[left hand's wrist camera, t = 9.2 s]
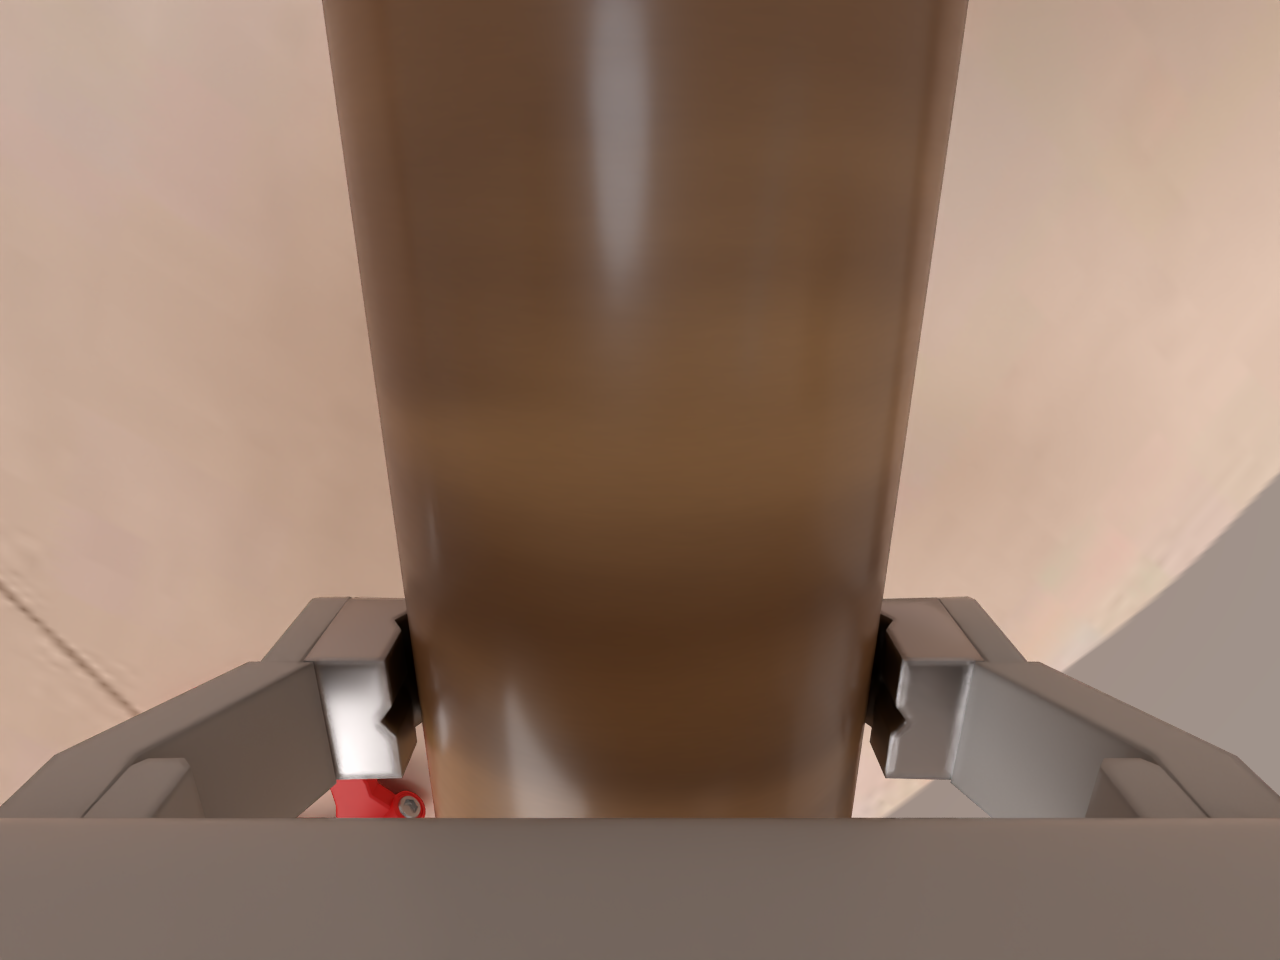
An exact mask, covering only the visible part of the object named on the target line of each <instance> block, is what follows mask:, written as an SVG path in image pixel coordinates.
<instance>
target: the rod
mask: <svg viewBox="0 0 1280 960" xmlns="http://www.w3.org/2000/svg"><path fill="white" fill-rule="evenodd" d="M968 1H969V0H322V4H323V11H324V18H325V26H326V33H327V40H328V47H329V54H330V62H331V69H332V76H333V83H334V90H335V98H336V105H337V112H338V119H339V126H340V134H341V141H342V148H343V155H344V162H345V170H346V177H347V184H348V191H349V198H350V206H351V213H352V220H353V227H354V234H355V241H356V249H357V256H358V263H359V270H360V277H361V285H362V292H363V299H364V306H365V313H366V321H367V328H368V335H369V342H370V349H371V357H372V364H373V371H374V378H375V385H376V393H377V400H378V407H379V414H380V421H381V429H382V436H383V443H384V450H385V457H386V465H387V472H388V479H389V486H390V493H391V501H392V508H393V515H394V522H395V529H396V537H397V544H398V551H399V558H400V565H401V573H402V580H403V587H404V594H405V601H406V609H407V616H408V623H409V630H410V637H411V645H412V652H413V659H414V666H415V673H416V681H417V688H418V695H419V702H420V709H421V716H422V724H423V731H424V738H425V745H426V752H427V760H428V767H429V774H430V781H431V788H432V796H433V803H434V810H435V817H436V818H851V816H852V809H853V802H854V795H855V788H856V781H857V774H858V767H859V760H860V753H861V746H862V739H863V732H864V725H865V718H866V711H867V704H868V697H869V690H870V683H871V677H872V670H873V663H874V656H875V649H876V642H877V635H878V628H879V621H880V614H881V607H882V600H883V593H884V586H885V579H886V572H887V565H888V558H889V551H890V544H891V537H892V530H893V523H894V516H895V509H896V502H897V496H898V489H899V482H900V475H901V468H902V461H903V454H904V447H905V440H906V433H907V426H908V419H909V412H910V405H911V398H912V391H913V384H914V377H915V370H916V363H917V356H918V349H919V342H920V335H921V328H922V321H923V314H924V308H925V301H926V294H927V287H928V280H929V273H930V266H931V259H932V252H933V245H934V238H935V231H936V224H937V217H938V210H939V203H940V196H941V189H942V182H943V175H944V168H945V161H946V154H947V147H948V140H949V133H950V127H951V120H952V113H953V106H954V99H955V92H956V85H957V78H958V71H959V64H960V57H961V50H962V43H963V36H964V29H965V22H966V15H967V8H968Z"/></svg>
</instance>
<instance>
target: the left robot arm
mask: <svg viewBox="0 0 1280 960" xmlns="http://www.w3.org/2000/svg"><path fill="white" fill-rule="evenodd" d="M421 722H422V716H421V709H420V702H419V695H418V688H417V681H416V673H415V666H414V659H413V652H412V645H411V637H410V630H409V623H408V616H407V609H406V601H405V598H363V597H355V598H352V597H319V598H314V599H312V600H311V601H310V602H309V603H308V604H307V606H306V607H305V608H304V609H303V611H302V612H301V613H300V614H299V615H298V617H297V618H296V619H295V620H294V621H293V623H292V624H291V625H290V626H289V628H288V629H287V630H286V631H285V632H284V634H283V635H282V636H281V637H280V639H279V640H278V641H277V642H276V643H275V645H274V646H273V647H272V648H271V649H270V651H269V652H268V653H267V654H266V656H265V657H264V658H263V659H262V660H261V662H248V663H245V664H243V665H241V666H239V667H237V668H235V669H233V670H231V671H229V672H227V673H225V674H223V675H220V676H218V677H216V678H214V679H212V680H210V681H208V682H206V683H204V684H202V685H200V686H198V687H195V688H193V689H191V690H189V691H187V692H185V693H183V694H181V695H179V696H177V697H175V698H173V699H170V700H168V701H166V702H164V703H162V704H160V705H158V706H156V707H154V708H152V709H150V710H148V711H145V712H143V713H141V714H139V715H137V716H135V717H133V718H131V719H129V720H127V721H125V722H123V723H120V724H118V725H116V726H114V727H112V728H110V729H108V730H106V731H104V732H102V733H100V734H98V735H95V736H93V737H91V738H89V739H87V740H85V741H83V742H81V743H79V744H77V745H75V746H73V747H70V748H68V749H66V750H64V751H62V752H60V753H58V754H56V755H54V756H53V757H52V758H51V759H50V760H49V761H48V762H47V763H46V764H45V765H44V766H43V767H42V768H40V769H39V770H38V771H37V772H36V773H35V774H34V775H33V776H32V777H31V778H30V779H29V780H28V781H27V782H26V783H25V784H24V785H23V786H22V787H21V788H19V789H18V790H17V791H16V792H15V793H14V794H13V795H12V796H11V797H10V798H9V799H8V800H7V801H6V802H5V803H4V804H3V805H2V806H1V807H0V960H1280V796H1279V795H1278V794H1277V793H1276V792H1274V791H1273V790H1272V789H1271V788H1270V787H1269V786H1268V785H1267V784H1266V783H1265V782H1264V781H1263V780H1262V779H1261V778H1260V777H1259V776H1257V775H1256V774H1255V773H1254V772H1253V771H1252V770H1251V769H1250V768H1249V767H1248V766H1247V765H1246V764H1245V763H1244V762H1243V761H1242V760H1240V759H1239V758H1238V757H1237V756H1235V755H1233V754H1231V753H1229V752H1227V751H1225V750H1223V749H1221V748H1219V747H1216V746H1214V745H1212V744H1210V743H1208V742H1206V741H1204V740H1202V739H1200V738H1198V737H1196V736H1194V735H1191V734H1189V733H1187V732H1185V731H1183V730H1181V729H1179V728H1177V727H1175V726H1173V725H1170V724H1168V723H1166V722H1164V721H1162V720H1160V719H1158V718H1156V717H1154V716H1152V715H1149V714H1147V713H1145V712H1143V711H1141V710H1139V709H1137V708H1135V707H1133V706H1131V705H1128V704H1126V703H1124V702H1122V701H1120V700H1118V699H1116V698H1114V697H1112V696H1110V695H1108V694H1105V693H1103V692H1101V691H1099V690H1097V689H1095V688H1093V687H1091V686H1089V685H1087V684H1085V683H1082V682H1080V681H1078V680H1076V679H1074V678H1072V677H1070V676H1068V675H1066V674H1064V673H1061V672H1059V671H1057V670H1055V669H1053V668H1051V667H1049V666H1047V665H1045V664H1043V663H1041V662H1027V661H1026V659H1025V658H1024V657H1023V656H1022V655H1021V653H1020V652H1019V651H1018V650H1017V649H1016V647H1015V646H1014V645H1013V644H1012V643H1011V641H1010V640H1009V639H1008V638H1007V637H1006V636H1005V634H1004V633H1003V632H1002V631H1001V630H1000V628H999V627H998V626H997V625H996V624H995V622H994V621H993V620H992V619H991V618H990V617H989V615H988V614H987V613H986V612H985V611H984V609H983V608H982V607H981V606H980V605H979V603H978V602H977V601H976V600H975V599H972V598H970V597H943V598H900V599H883V600H882V607H881V614H880V621H879V628H878V635H877V642H876V649H875V656H874V663H873V670H872V677H871V683H870V690H869V697H868V704H867V711H866V718H865V723H867V724H868V725H870V726H871V727H872V730H871V737H870V743H871V746H872V748H873V750H874V753H875V755H876V757H877V760H878V762H879V764H880V766H881V769H882V771H883V773H884V776H885V778H903V779H940V780H951V783H952V784H953V785H954V786H955V787H956V788H958V789H959V790H960V791H961V792H962V793H963V794H965V795H966V796H967V797H968V798H969V799H970V800H972V801H973V802H974V803H975V804H976V805H977V806H979V807H980V808H981V809H982V810H983V811H985V812H986V813H987V814H988V815H989V816H990V817H992V818H296V817H298V816H299V815H300V814H301V813H302V812H304V811H305V810H306V809H307V808H308V807H309V806H311V805H312V804H313V803H314V802H315V801H316V800H318V799H319V798H320V797H321V796H322V795H323V794H325V793H326V792H327V791H328V790H329V789H330V788H332V787H333V786H334V785H335V784H336V783H337V782H336V780H347V779H383V778H402V777H403V774H404V772H405V770H406V767H407V765H408V762H409V760H410V758H411V755H412V753H413V750H414V748H415V746H416V743H417V738H416V730H415V727H416V726H417V725H419V724H420V723H421Z"/></svg>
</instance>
